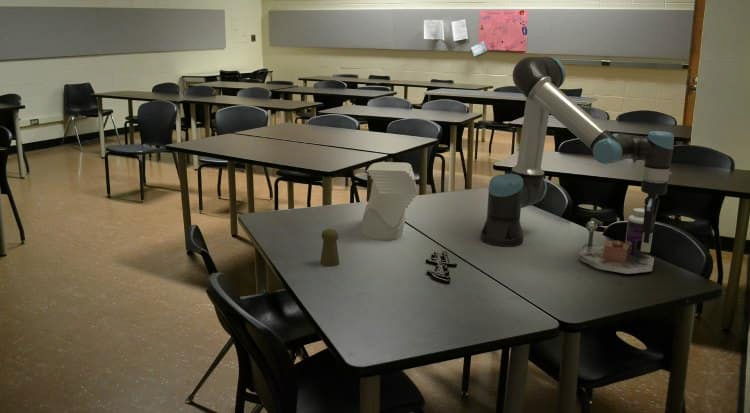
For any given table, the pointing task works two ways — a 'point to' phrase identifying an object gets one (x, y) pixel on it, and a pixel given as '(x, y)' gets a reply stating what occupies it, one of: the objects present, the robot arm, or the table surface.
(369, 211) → the paper stack
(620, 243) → the pink gift box
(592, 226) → the dial stand
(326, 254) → the cork
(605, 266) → the turntable
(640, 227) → the pill bottle
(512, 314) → the table surface
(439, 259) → the black irregular piece
